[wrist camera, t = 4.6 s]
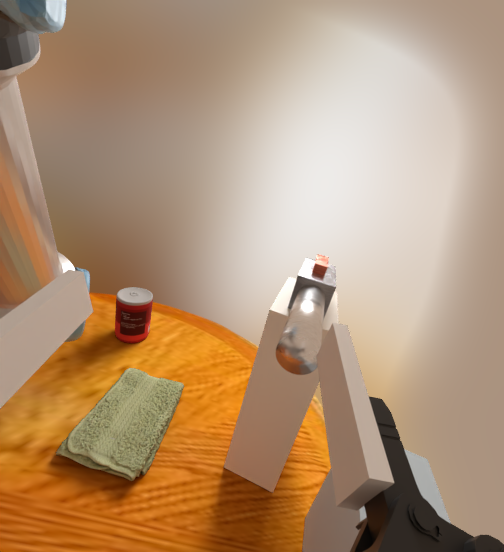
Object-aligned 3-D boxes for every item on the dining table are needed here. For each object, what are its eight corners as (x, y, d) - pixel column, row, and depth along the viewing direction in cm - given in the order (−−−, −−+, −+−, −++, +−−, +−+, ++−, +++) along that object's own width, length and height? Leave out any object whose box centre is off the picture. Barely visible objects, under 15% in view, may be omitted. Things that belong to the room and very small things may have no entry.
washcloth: (50, 462, 34) (48, 446, 33) (126, 374, 51) (128, 361, 50) (140, 491, 34) (142, 476, 33) (188, 392, 50) (190, 380, 49)
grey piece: (261, 367, 19) (280, 304, 17) (298, 283, 40) (308, 250, 38) (317, 391, 18) (344, 327, 17) (325, 292, 39) (338, 258, 37)
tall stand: (223, 467, 38) (269, 309, 29) (251, 401, 51) (289, 276, 42) (272, 492, 37) (338, 334, 27) (288, 417, 50) (337, 292, 40)
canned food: (136, 321, 67) (139, 284, 63) (155, 335, 63) (160, 297, 60) (107, 332, 61) (109, 291, 57) (127, 348, 57) (130, 306, 53)
